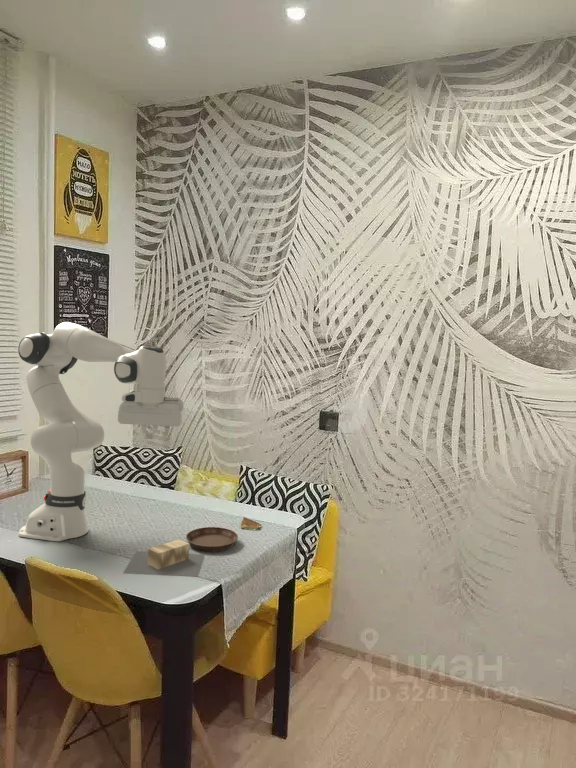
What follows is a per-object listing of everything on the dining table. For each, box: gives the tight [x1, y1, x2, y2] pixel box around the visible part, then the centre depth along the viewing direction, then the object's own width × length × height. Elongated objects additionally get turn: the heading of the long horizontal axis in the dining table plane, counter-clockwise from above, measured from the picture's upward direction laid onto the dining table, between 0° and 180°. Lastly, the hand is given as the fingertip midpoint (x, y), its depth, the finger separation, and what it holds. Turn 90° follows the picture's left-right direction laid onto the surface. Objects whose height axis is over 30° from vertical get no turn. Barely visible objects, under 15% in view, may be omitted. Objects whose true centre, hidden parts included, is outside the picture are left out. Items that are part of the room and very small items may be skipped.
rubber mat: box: [122, 550, 206, 578], centre depth 185 cm, size 22×17×1 cm
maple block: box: [147, 539, 190, 569], centre depth 187 cm, size 5×5×12 cm
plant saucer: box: [185, 526, 239, 552], centre depth 207 cm, size 18×18×3 cm
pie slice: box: [240, 516, 262, 530], centre depth 228 cm, size 11×8×2 cm
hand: (149, 438), depth 195 cm, fingers closed
